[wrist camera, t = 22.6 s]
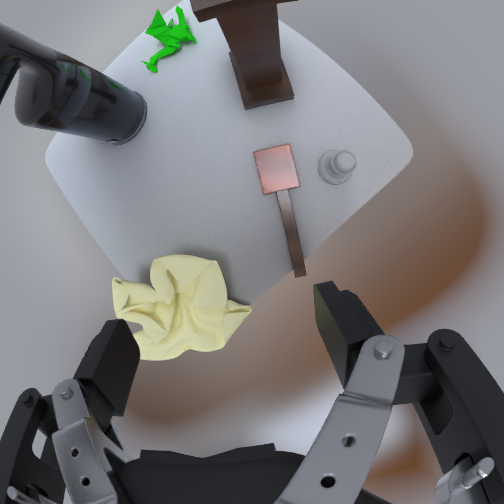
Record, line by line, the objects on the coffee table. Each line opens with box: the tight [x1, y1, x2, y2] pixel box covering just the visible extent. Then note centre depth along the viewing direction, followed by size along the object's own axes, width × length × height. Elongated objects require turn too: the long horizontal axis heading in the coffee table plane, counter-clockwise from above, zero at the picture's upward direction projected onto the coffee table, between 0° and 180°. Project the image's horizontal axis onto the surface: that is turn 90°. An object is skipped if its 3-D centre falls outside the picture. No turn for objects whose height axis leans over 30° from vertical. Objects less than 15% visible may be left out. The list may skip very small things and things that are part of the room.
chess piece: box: [318, 151, 356, 184], centre depth 31 cm, size 5×5×8 cm
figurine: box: [142, 6, 197, 73], centre depth 31 cm, size 6×12×9 cm
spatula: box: [253, 144, 306, 277], centre depth 36 cm, size 18×5×1 cm, turn 14°
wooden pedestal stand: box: [190, 0, 298, 110], centre depth 22 cm, size 10×7×24 cm
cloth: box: [112, 255, 252, 360], centre depth 39 cm, size 22×19×6 cm
